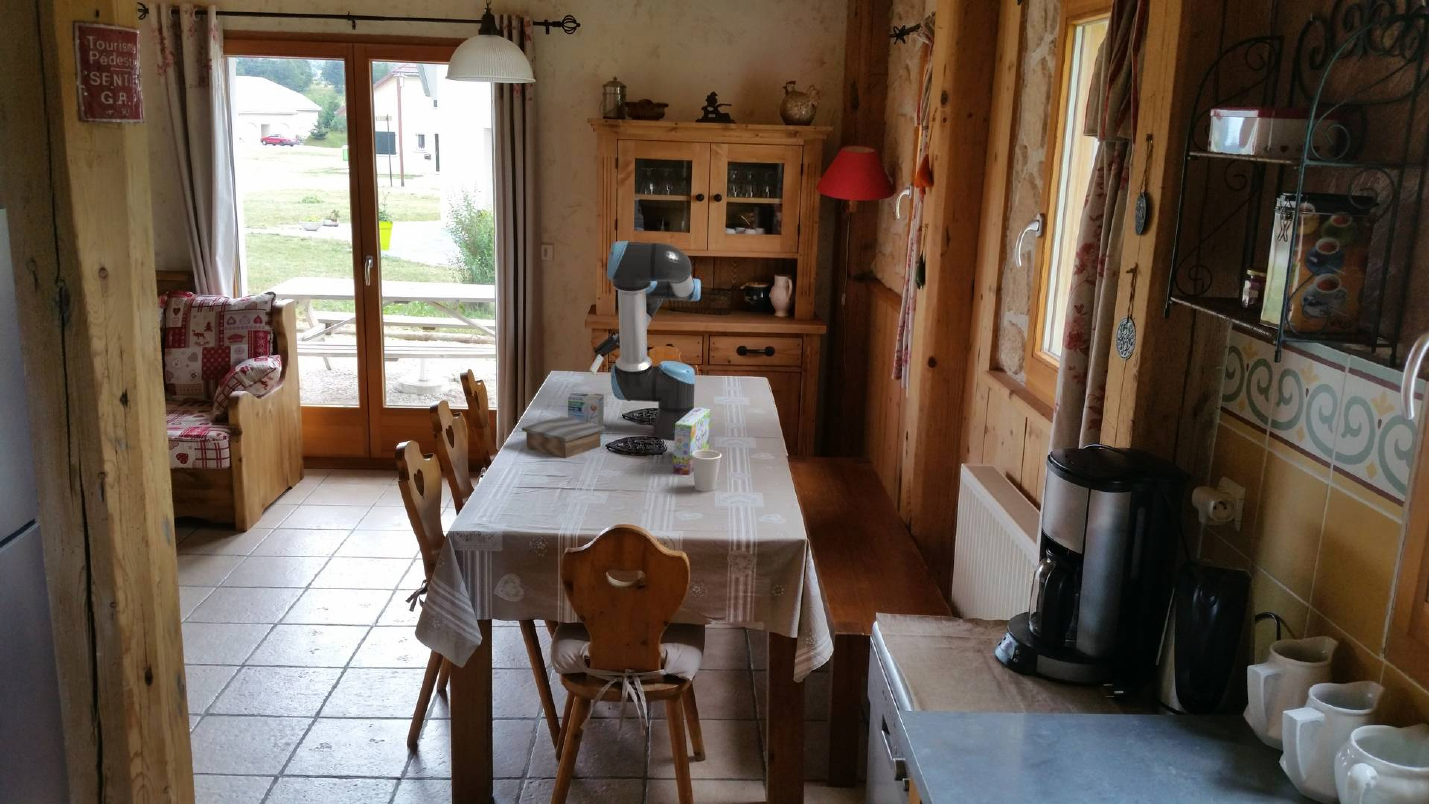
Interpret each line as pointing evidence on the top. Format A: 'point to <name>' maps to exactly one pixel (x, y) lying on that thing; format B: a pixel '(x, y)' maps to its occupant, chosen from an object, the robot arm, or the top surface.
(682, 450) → the snack box
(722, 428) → the top surface
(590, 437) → the podium
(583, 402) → the light bulb box
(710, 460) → the dixie cup
